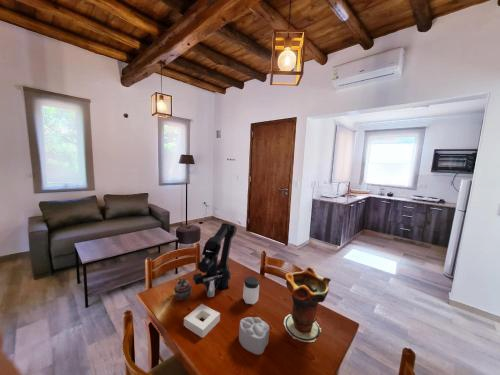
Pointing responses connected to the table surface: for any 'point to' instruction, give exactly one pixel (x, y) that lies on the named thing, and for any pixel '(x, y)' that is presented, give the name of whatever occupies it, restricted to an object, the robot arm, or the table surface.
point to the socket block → (198, 326)
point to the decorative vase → (305, 303)
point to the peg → (211, 287)
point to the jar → (251, 290)
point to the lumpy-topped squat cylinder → (253, 334)
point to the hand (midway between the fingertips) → (210, 290)
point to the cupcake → (182, 290)
